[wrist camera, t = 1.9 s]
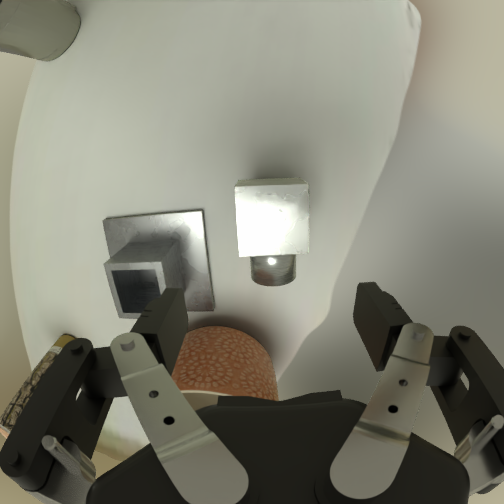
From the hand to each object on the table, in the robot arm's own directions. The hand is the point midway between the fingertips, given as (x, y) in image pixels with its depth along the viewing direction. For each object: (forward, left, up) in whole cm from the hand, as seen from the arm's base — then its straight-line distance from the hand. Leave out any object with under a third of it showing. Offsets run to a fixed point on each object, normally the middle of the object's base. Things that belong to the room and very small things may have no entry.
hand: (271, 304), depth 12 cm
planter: (+23, -7, -23) cm, 33 cm away
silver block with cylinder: (+1, +1, -23) cm, 23 cm away
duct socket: (+7, -14, -23) cm, 28 cm away
